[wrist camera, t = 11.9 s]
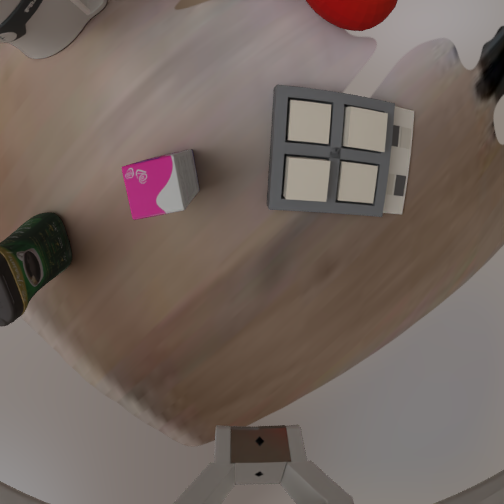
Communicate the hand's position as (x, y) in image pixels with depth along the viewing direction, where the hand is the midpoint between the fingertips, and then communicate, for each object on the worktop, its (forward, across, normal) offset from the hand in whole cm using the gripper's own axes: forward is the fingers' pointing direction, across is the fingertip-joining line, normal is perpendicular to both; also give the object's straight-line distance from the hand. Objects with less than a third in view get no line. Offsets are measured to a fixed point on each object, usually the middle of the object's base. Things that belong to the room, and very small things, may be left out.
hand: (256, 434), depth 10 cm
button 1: (+33, -14, -5) cm, 37 cm away
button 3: (+32, -7, -4) cm, 33 cm away
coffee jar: (+34, +30, +6) cm, 46 cm away
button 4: (+33, -7, -11) cm, 36 cm away
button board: (+34, -13, -8) cm, 37 cm away
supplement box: (+34, +9, -4) cm, 36 cm away
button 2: (+32, -14, -12) cm, 37 cm away
